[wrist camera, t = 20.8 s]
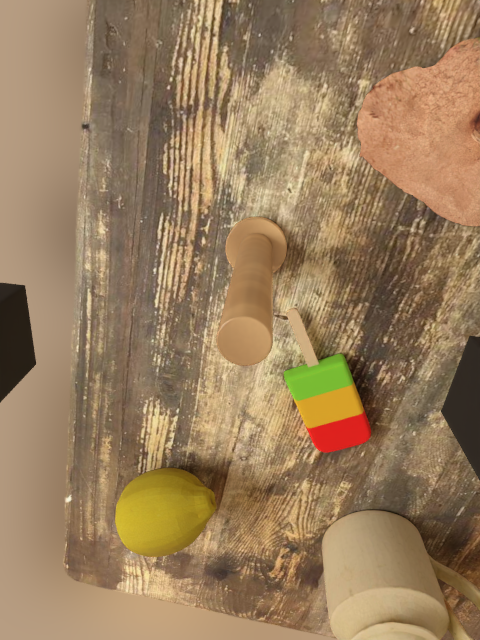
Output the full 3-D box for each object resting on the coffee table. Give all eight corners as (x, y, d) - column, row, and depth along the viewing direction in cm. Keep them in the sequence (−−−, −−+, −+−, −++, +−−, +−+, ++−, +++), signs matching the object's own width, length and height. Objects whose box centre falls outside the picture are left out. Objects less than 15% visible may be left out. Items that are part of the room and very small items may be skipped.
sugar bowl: (437, 484, 43) (512, 651, 30) (470, 551, 47) (550, 726, 34) (304, 526, 47) (316, 691, 34) (344, 585, 51) (370, 754, 37)
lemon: (138, 510, 48) (114, 580, 41) (113, 458, 45) (83, 523, 38) (231, 499, 46) (223, 570, 39) (212, 444, 43) (200, 509, 36)
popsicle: (316, 444, 42) (318, 457, 40) (260, 315, 37) (259, 325, 35) (371, 429, 41) (376, 442, 39) (322, 294, 35) (324, 302, 34)
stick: (252, 203, 32) (236, 272, 18) (299, 243, 34) (319, 337, 19) (214, 250, 34) (171, 346, 20) (259, 286, 35) (250, 402, 21)
